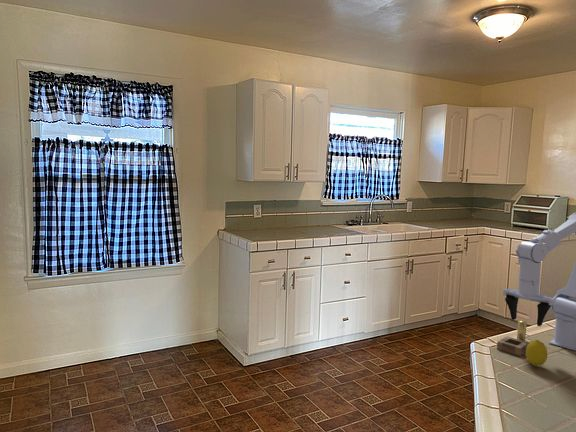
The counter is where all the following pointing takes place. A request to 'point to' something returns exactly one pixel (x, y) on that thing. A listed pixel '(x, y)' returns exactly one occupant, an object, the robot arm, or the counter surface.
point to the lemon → (536, 353)
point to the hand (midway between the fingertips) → (526, 322)
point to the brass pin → (521, 330)
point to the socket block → (512, 345)
